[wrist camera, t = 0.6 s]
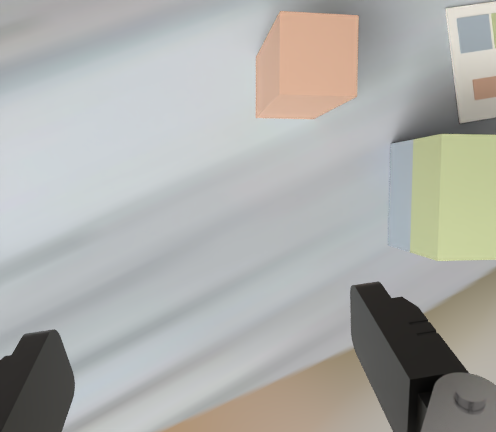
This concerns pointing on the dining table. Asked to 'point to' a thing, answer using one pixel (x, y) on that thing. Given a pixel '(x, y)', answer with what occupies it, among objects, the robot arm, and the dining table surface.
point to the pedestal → (444, 197)
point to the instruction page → (473, 59)
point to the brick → (307, 65)
